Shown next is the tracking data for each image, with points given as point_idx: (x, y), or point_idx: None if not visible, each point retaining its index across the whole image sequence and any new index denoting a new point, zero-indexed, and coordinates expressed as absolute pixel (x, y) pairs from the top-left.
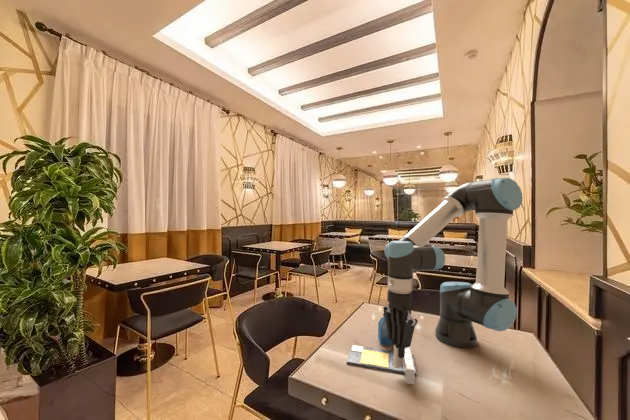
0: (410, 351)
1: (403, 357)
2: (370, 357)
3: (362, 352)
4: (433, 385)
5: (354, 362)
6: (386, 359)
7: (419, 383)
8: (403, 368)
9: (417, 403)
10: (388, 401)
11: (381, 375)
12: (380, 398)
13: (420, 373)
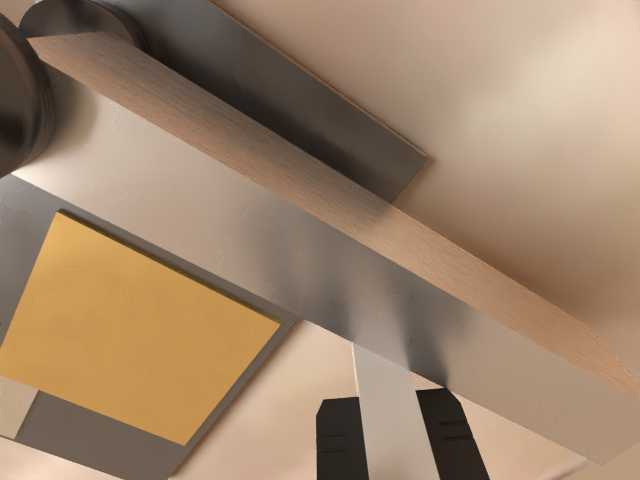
0: (361, 247)
1: (447, 396)
2: (125, 373)
3: (44, 390)
4: (585, 95)
5: (174, 464)
6: (166, 282)
7: (504, 192)
8: None
9: (629, 327)
10: (527, 433)
11: (322, 370)
12: (490, 451)
13: (402, 83)
